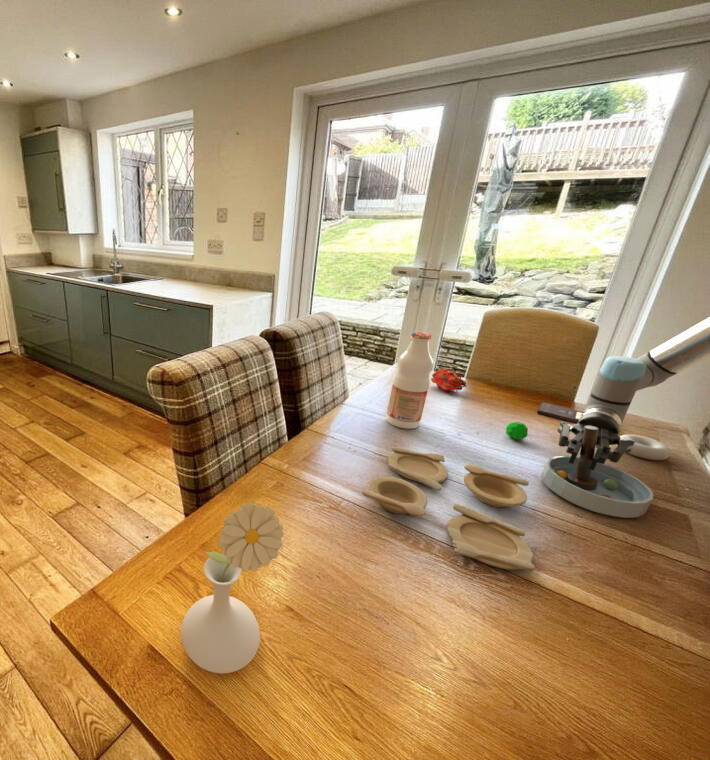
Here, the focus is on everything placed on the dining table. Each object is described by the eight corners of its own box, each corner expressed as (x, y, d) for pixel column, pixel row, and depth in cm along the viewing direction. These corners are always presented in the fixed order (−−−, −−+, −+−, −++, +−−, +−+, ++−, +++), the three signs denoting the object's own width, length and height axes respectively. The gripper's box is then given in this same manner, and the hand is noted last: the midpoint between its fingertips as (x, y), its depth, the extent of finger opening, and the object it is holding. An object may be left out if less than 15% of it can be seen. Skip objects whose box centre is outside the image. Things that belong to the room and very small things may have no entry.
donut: (626, 440, 111) (605, 446, 108) (631, 429, 110) (610, 435, 107) (675, 459, 103) (654, 466, 99) (682, 447, 101) (661, 454, 98)
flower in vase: (172, 672, 53) (167, 527, 44) (190, 598, 64) (189, 468, 54) (269, 692, 51) (286, 543, 42) (271, 612, 61) (285, 479, 52)
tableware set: (531, 593, 65) (539, 574, 63) (352, 517, 81) (355, 501, 80) (529, 487, 91) (534, 472, 89) (394, 446, 107) (396, 433, 106)
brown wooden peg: (598, 484, 89) (609, 426, 85) (594, 493, 86) (605, 434, 82) (569, 476, 93) (578, 421, 89) (564, 485, 90) (573, 428, 86)
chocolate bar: (542, 401, 132) (616, 419, 120) (541, 404, 132) (615, 422, 121) (538, 410, 126) (616, 430, 114) (537, 412, 127) (615, 432, 115)
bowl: (646, 496, 88) (655, 480, 86) (640, 533, 78) (650, 515, 76) (549, 463, 100) (555, 448, 98) (532, 490, 90) (538, 474, 88)
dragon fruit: (427, 387, 150) (459, 402, 142) (422, 379, 144) (454, 394, 136) (441, 368, 149) (474, 383, 141) (436, 360, 144) (470, 374, 135)
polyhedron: (529, 442, 109) (535, 427, 108) (511, 442, 110) (516, 427, 108) (516, 433, 114) (521, 419, 112) (499, 433, 114) (504, 418, 112)
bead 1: (569, 479, 92) (568, 469, 92) (567, 483, 90) (566, 473, 90) (555, 477, 94) (554, 468, 93) (553, 481, 92) (552, 471, 92)
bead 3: (611, 505, 84) (615, 496, 83) (609, 510, 83) (614, 501, 82) (596, 499, 86) (600, 490, 85) (594, 504, 84) (598, 495, 83)
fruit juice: (378, 417, 123) (395, 330, 113) (404, 413, 126) (422, 328, 115) (399, 431, 115) (420, 338, 104) (426, 427, 117) (449, 336, 107)
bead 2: (616, 489, 89) (620, 480, 88) (615, 493, 88) (619, 484, 87) (601, 484, 91) (605, 475, 90) (600, 488, 90) (604, 479, 89)
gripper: (636, 452, 94) (627, 493, 80) (553, 428, 105) (532, 460, 91) (649, 424, 91) (643, 461, 77) (562, 403, 102) (542, 432, 88)
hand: (583, 460), depth 84 cm, fingers closed on brown wooden peg, 3 cm apart
